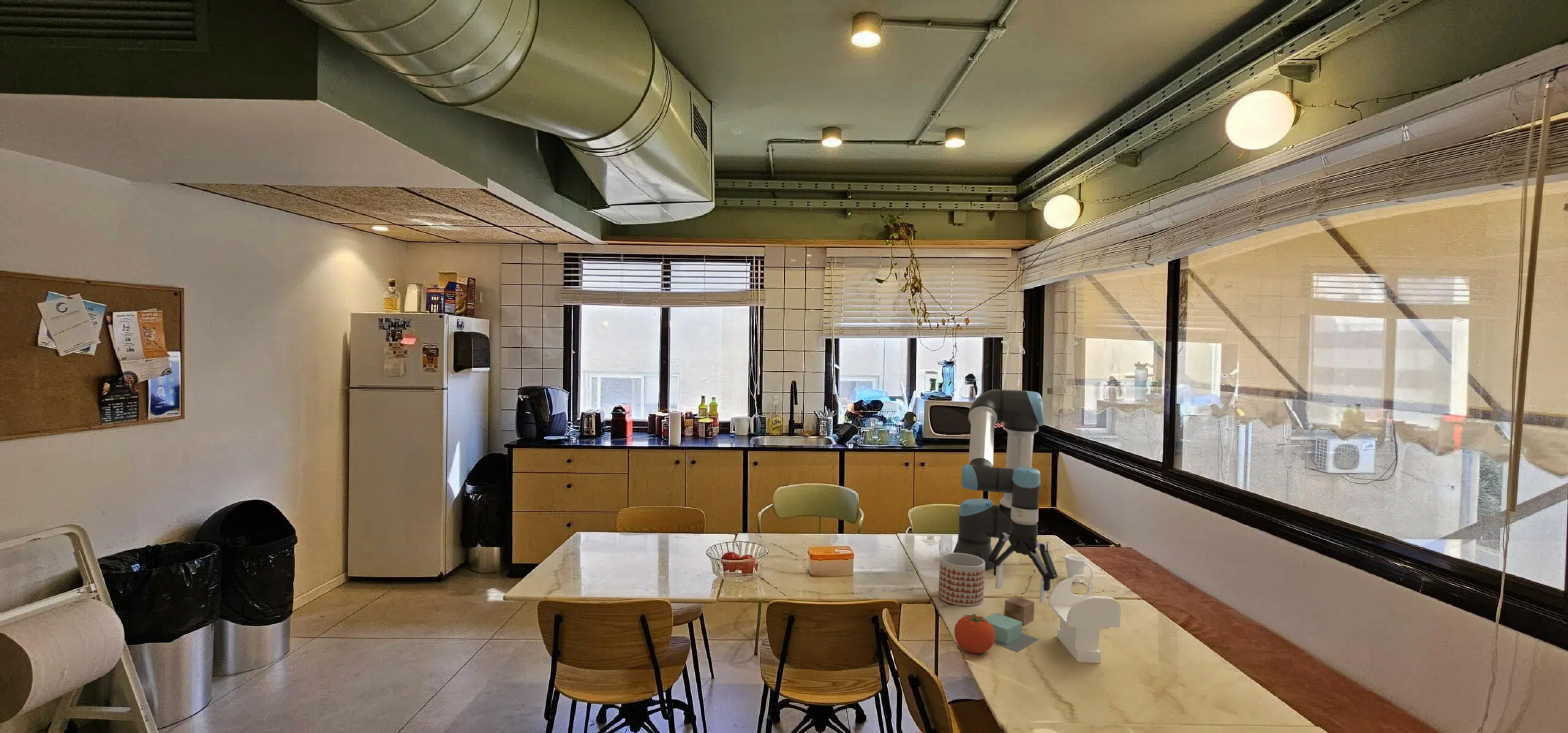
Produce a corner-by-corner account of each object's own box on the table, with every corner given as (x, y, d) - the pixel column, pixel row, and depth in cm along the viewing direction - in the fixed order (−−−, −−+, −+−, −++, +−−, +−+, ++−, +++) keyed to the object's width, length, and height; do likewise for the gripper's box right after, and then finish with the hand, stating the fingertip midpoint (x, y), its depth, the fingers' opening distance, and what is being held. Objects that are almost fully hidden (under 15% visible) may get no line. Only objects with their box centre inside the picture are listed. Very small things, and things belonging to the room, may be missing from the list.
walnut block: (1003, 620, 196) (1005, 600, 196) (1014, 615, 201) (1015, 595, 200) (1023, 627, 192) (1024, 607, 192) (1033, 622, 196) (1034, 602, 196)
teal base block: (979, 634, 185) (980, 620, 185) (994, 626, 191) (995, 612, 191) (1006, 644, 180) (1007, 629, 179) (1021, 636, 185) (1022, 622, 185)
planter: (986, 596, 215) (988, 556, 214) (979, 611, 202) (981, 569, 202) (943, 588, 221) (945, 549, 220) (933, 602, 208) (935, 561, 208)
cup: (1071, 575, 238) (1072, 553, 237) (1098, 584, 229) (1099, 561, 229) (1059, 578, 234) (1060, 556, 233) (1086, 588, 225) (1087, 564, 225)
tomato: (987, 665, 169) (989, 625, 168) (947, 653, 174) (949, 615, 174) (998, 649, 177) (1000, 612, 177) (960, 639, 183) (962, 603, 182)
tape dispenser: (1046, 637, 186) (1050, 573, 185) (1093, 639, 186) (1097, 575, 185) (1066, 661, 172) (1070, 592, 171) (1117, 664, 172) (1121, 595, 171)
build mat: (963, 632, 187) (963, 631, 187) (985, 621, 195) (985, 619, 195) (1017, 653, 175) (1017, 652, 175) (1038, 640, 184) (1038, 639, 184)
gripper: (978, 514, 202) (975, 584, 202) (1060, 533, 183) (1056, 610, 184) (991, 511, 207) (988, 579, 207) (1072, 529, 189) (1068, 604, 189)
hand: (1020, 594), depth 196 cm, fingers open, 13 cm apart
